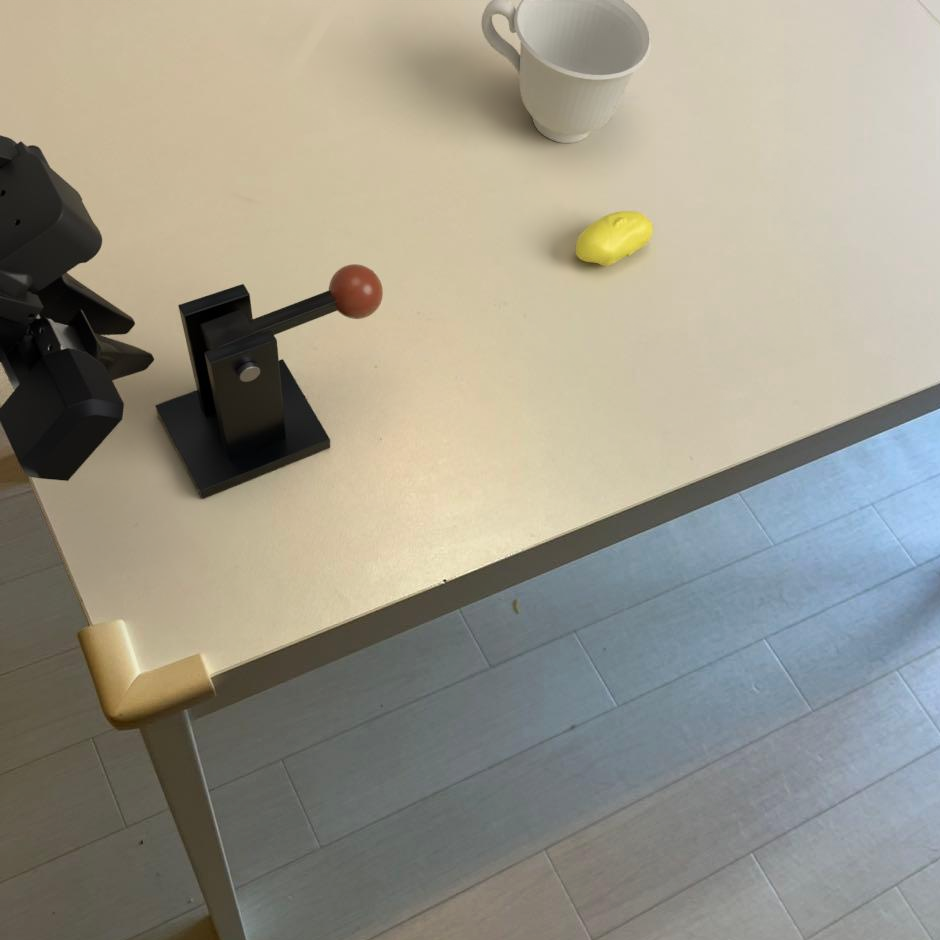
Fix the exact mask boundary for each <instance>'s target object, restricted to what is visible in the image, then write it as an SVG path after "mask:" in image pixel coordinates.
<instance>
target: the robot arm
mask: <svg viewBox="0 0 940 940" xmlns="http://www.w3.org/2000/svg"><path fill="white" fill-rule="evenodd" d="M102 245H103V236H102V233H101V231H100V229H99V227H98V226H97V225H96V224H95V222H94V220H93V218H92V217H91V215H90V213H89V211H88V209H87V207H86V206H85V204H84V202H83V198H82V196H81V194H80V192H79V191H78V190H76V188H74V187H73V186H72V185H71V184H70V183H69V182H67V181H66V180H65V179H64V178H63V177H62V176H60V174H58V172H56V171H55V170H54V169H53V168H52V167H51V166H50V164H49V162H48V160H47V159H46V157H45V155H44V153H43V150H42V149H41V148H40V147H39V146H38V145H33V144H32V145H27V144H25V143H24V142H23V141H19V142H18V143H17V142H16V141H15V140H13V139H12V138H10V137H8V136H5V135H1V134H0V364H1V367H2V368H3V371H4V373H5V375H6V377H7V379H8V381H9V383H10V385H11V387H12V390H13V391H12V393H11V394H10V395H9V396H8V398H7V399H6V400H5V401H4V402H3V404H2V405H1V406H0V424H1V427H2V429H3V431H4V433H5V436H6V437H7V440H8V442H9V444H10V446H11V448H12V450H13V453H14V455H15V457H16V459H17V461H18V464H19V465H20V467H21V469H22V471H23V473H24V475H25V477H29V478H34V479H41V480H43V479H44V480H53V481H64V482H68V481H70V479H71V478H72V477H73V476H74V475H75V473H77V471H78V470H79V469H80V468H81V467H82V466H83V465H84V464H85V462H86V461H87V460H88V459H89V458H90V457H91V455H92V454H93V453H94V452H95V451H96V450H97V449H98V448H99V446H100V445H101V444H102V443H103V442H104V441H105V440H106V438H107V437H108V436H109V435H110V434H111V433H112V432H113V430H114V429H115V428H116V427H117V426H118V425H119V424H120V423H121V422H122V420H123V417H124V416H123V415H124V408H125V402H124V400H123V399H122V397H121V394H120V393H119V391H118V389H117V387H116V385H115V383H114V381H115V380H118V379H121V378H124V377H127V376H131V375H134V374H137V373H140V372H141V373H142V372H144V371H146V370H147V369H148V368H149V367H150V366H151V365H152V364H153V363H154V361H155V358H154V356H153V353H151V352H149V351H147V350H144V349H142V348H140V347H137V346H135V345H132V344H128V343H126V342H123V341H120V340H117V339H113V338H110V337H108V336H118V335H119V336H120V335H127V334H129V332H131V330H132V329H133V328H134V326H135V325H136V322H135V320H134V318H133V317H132V316H130V315H129V314H128V313H126V312H125V311H124V310H122V309H121V308H119V307H117V306H116V305H114V304H113V303H111V302H110V301H108V300H107V299H105V298H104V297H102V296H101V295H100V294H98V293H96V292H95V291H94V290H92V289H90V288H89V287H88V286H86V285H84V284H83V283H82V282H81V281H79V280H77V279H76V278H75V277H73V276H72V275H71V274H70V273H68V272H70V271H71V270H72V269H73V268H75V267H76V266H78V265H80V264H86V263H88V262H89V261H91V260H92V259H93V258H95V257H96V256H97V254H98V253H99V252H100V251H101V248H102Z"/></svg>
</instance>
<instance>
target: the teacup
mask: <svg viewBox="0 0 940 940" xmlns="http://www.w3.org/2000/svg"><path fill="white" fill-rule="evenodd" d="M494 15H501V16H503V17H505V18H506V20H507V21H508V27H509V31H510V33H512V34H515V33H516V36H517V38H518V39H519V41H520V52H518V50H517V49H516V48H515V47H514V46H513V45H512V44H511V43H510V42H508V41H507V40H506V39H504V38H503V37H502V36H501V35H500V34H499V33H498V31H497V30H496V27H495V26H494V24H493V16H494ZM480 25H481V31H482V34H483V36H484V39H485V40H486V42H487V43H488V44H489V46H490V47H491V48H492V49H493V50H494V51H496V52H497V53H498V54H500V55H501V56H503V57H504V58H505V59H507V60H508V61H509V62H510V63H511V65H512V67H514V70H515V71H516V73H517V75H518V77H519V91H520V96H521V100H522V102H523V105H524V107H525V109H526V110H527V112H528V113H529V115H530V116H531V117H532V122H533V124H534V127H535V128H536V129H537V131H538V132H539V133H540V134H542V135H543V136H544V137H545V138H547V139H550V140H552V141H554V142H557V143H563V144H574V143H578V142H581V141H583V140H585V139H586V138H587V137H588V136H589V135H590V133H591V132H594V131H596V130H598V129H600V128H602V127H603V126H604V125H605V124H607V122H609V120H610V119H611V117H612V116H613V115H614V113H615V112H616V110H617V108H618V106H619V104H620V102H621V100H622V98H623V96H624V94H625V91H626V89H627V86H628V85H629V82H630V80H631V77H632V75H633V73H634V72H635V71H637V70H638V69H640V68H641V67H642V66H643V65H644V64H645V62H646V61H647V60H648V58H649V55H650V53H651V49H652V36H651V32H650V30H649V27H648V26H647V23H646V22H645V21H644V19H643V18H642V16H641V15H640V14H639V13H638V12H637V10H636V9H635V8H634V7H633V6H631V5H630V4H629V3H628V2H626V1H625V0H521V1H520V2H519V3H518V5H517V7H516V6H515V5H514V4H513V3H512V2H511V1H509V0H490V1H489V2H488V3H487V4H486V6H485V8H484V10H483V13H482V16H481V24H480Z"/></svg>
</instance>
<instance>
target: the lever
mask: <svg viewBox="0 0 940 940" xmlns="http://www.w3.org/2000/svg"><path fill="white" fill-rule="evenodd" d="M383 294H384V290H383V285H382V282H381V279H380V278H379V276H378V275H377V274H376V273H375V272H374V270H372V269H370V268H369V267H367V266H365V265H362V264H358V263H355V264H354V263H353V264H348V265H344V266H342V267H340V268H339V269H338V270H336V271H335V272H334V274H333V275H332V277H331V279H330V281H329V285H328V290H325V291H323V292H321V293H318V294H316V295H313V296H311V297H308V298H305V299H301V300H300V301H297V302H294V303H291V304H289V305H286V306H284V307H282V308H279V309H275V310H274V311H271V312H269V313H265V314H263V315H259V316H258V317H255V318H253V319H252V320H250V321H248V320H247V318H246V317H245V315H244V313H243V312H242V310H241V309H239V310H236V311H234V312H231V313H228V314H226V315H223V316H220V317H218V318H215V319H212V320H210V321H207V322H204V323H202V324H200V327H201V330H202V334H203V337H204V341H205V344H206V347H207V349H208V351H209V350H212V349H215V348H218V347H221V346H223V345H226V344H229V343H232V342H235V341H238V340H241V339H243V338H246V337H249V336H252V335H255V334H258V333H261V332H264V331H266V330H269V329H270V330H271V331H272V333H273V334H274V336H276V335H279V334H281V333H283V332H286V331H288V330H292V329H294V328H296V327H299V326H301V325H304V324H307V323H309V322H312V321H314V320H317V319H320V318H322V317H325V316H327V315H330V314H332V313H335V312H338V313H339V314H340V315H342V316H344V317H345V318H348V319H353V320H362V319H365V318H368V317H370V316H371V315H373V314H374V313H375V312H376V311H378V310H379V308H380V306H381V304H382V301H383V296H384V295H383Z"/></svg>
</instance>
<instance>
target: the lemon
mask: <svg viewBox="0 0 940 940" xmlns="http://www.w3.org/2000/svg"><path fill="white" fill-rule="evenodd" d="M653 232H654V227H653V222H652V221H651V219H649V217H647V216H646V215H645V214H644V213H642V212H638V211H635V210H620V211H614V212H611V213H608V214H606V215H604V216H602V217H600V218H598V220H596V221H594V222H592V223H591V224H590V225H588V226H586V228H585V229H584V230H583V231H582V232H581V233H580V235H579V236H578V238H577V240H576V243H575V254H576V256H577V258H578V259H580V260H581V261H583V262H587V263H596V264H599V265H601V266H603V267H609V266H611V265H614V264H615V263H617V262H618V261H620V260H621V259H624V258H625V257H630V256H631V255H632V254H633V253H634V252H636V251H639V250H640V249H642V248H644V247H645V246H646V245H647V244H648V243H649V241H650V240H651V238H652V236H653Z"/></svg>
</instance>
